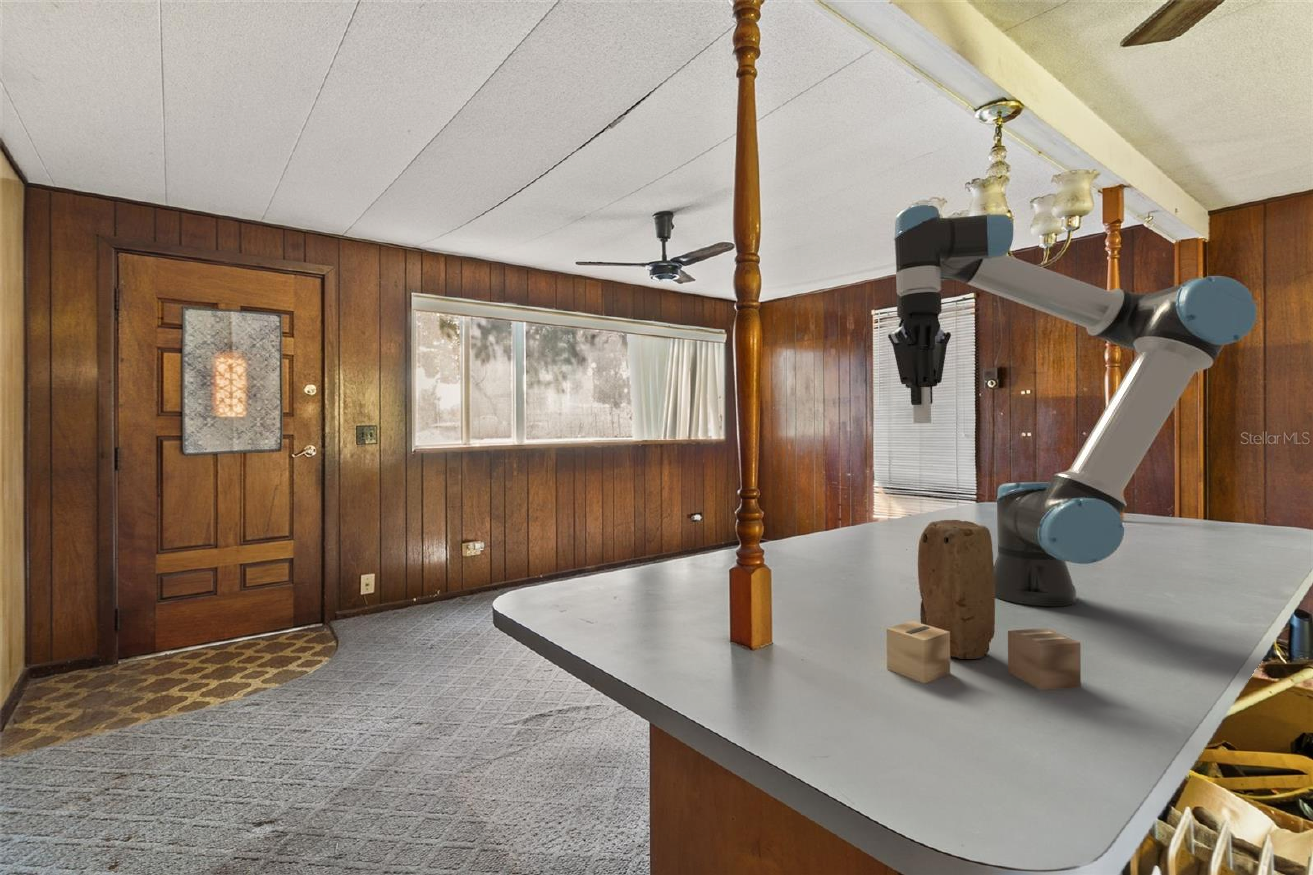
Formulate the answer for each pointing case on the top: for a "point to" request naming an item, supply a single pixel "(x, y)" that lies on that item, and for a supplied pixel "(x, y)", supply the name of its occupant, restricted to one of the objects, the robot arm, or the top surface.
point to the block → (958, 584)
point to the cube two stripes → (1044, 658)
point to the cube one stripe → (918, 651)
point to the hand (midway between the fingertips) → (922, 422)
